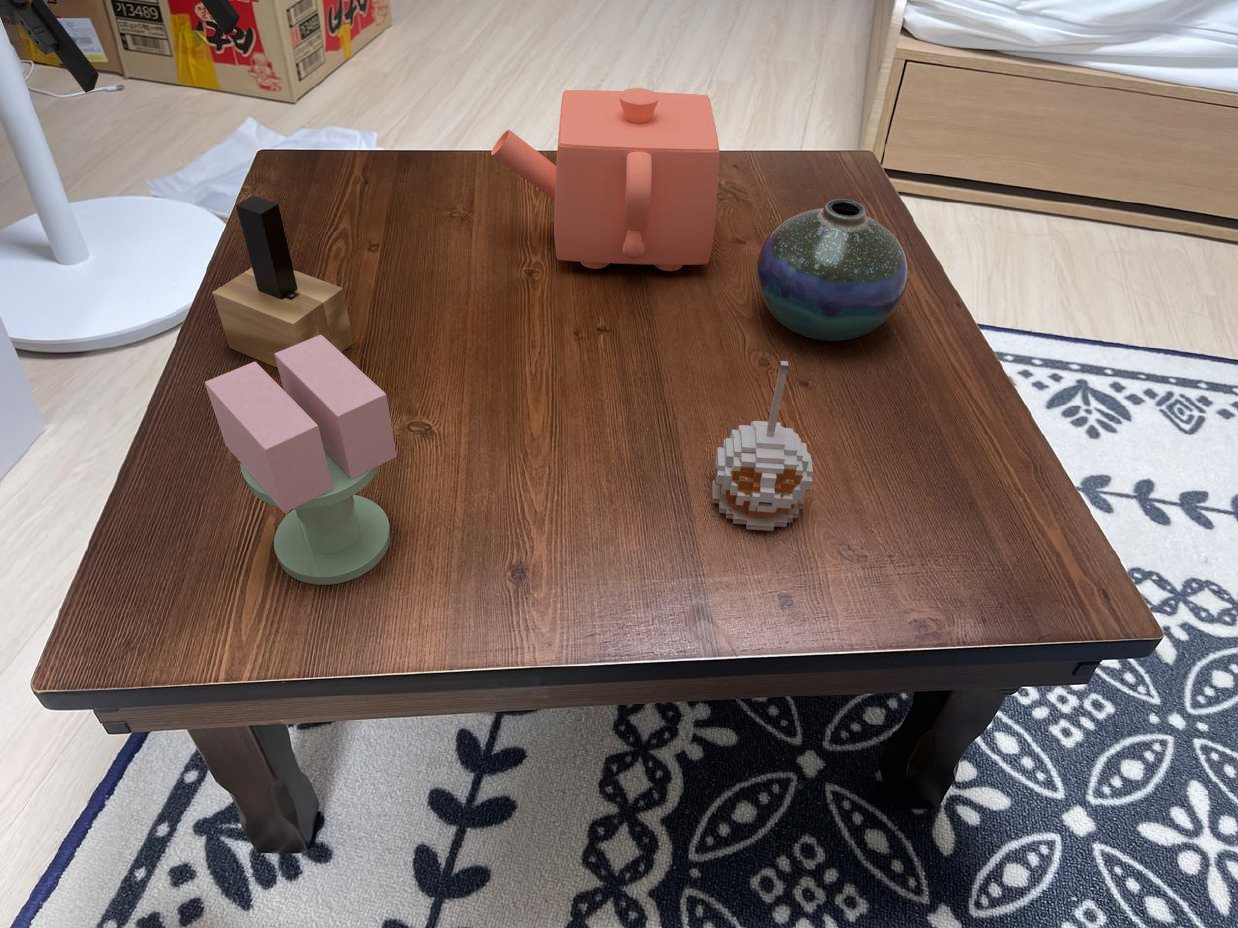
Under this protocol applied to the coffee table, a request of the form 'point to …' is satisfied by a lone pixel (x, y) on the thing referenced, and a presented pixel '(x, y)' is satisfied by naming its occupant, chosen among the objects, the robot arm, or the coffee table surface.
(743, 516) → the decorative ornament
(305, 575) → the cake stand
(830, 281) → the vase
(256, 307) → the knife block
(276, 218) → the knife
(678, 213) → the teapot
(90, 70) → the robot arm
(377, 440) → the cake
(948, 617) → the coffee table surface
